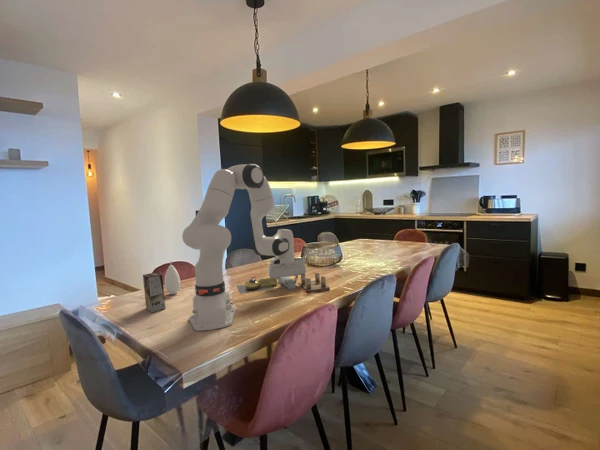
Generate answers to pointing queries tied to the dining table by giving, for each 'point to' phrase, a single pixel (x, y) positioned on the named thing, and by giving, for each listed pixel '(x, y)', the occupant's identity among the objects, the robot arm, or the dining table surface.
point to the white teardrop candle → (172, 280)
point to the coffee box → (154, 291)
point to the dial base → (243, 289)
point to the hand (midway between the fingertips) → (287, 284)
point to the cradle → (314, 284)
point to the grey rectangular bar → (288, 282)
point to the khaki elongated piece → (260, 282)
